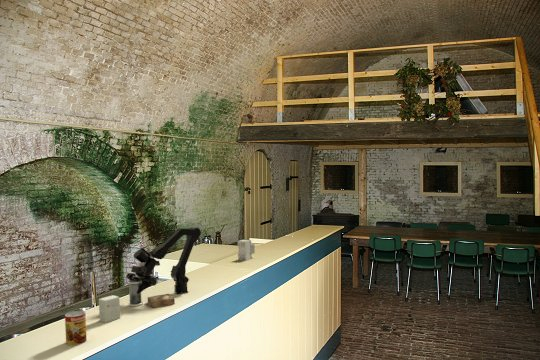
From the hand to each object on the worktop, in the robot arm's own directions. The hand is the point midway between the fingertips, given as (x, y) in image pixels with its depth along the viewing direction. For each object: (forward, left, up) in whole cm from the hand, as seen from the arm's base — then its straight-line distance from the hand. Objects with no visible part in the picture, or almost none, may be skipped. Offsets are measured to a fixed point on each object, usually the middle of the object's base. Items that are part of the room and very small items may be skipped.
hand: (133, 292), depth 236 cm
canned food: (+32, +40, -7) cm, 52 cm away
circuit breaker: (-105, -79, -7) cm, 132 cm away
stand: (-13, +5, -7) cm, 16 cm away
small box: (+15, +17, -7) cm, 24 cm away
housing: (-1, -1, -7) cm, 7 cm away
